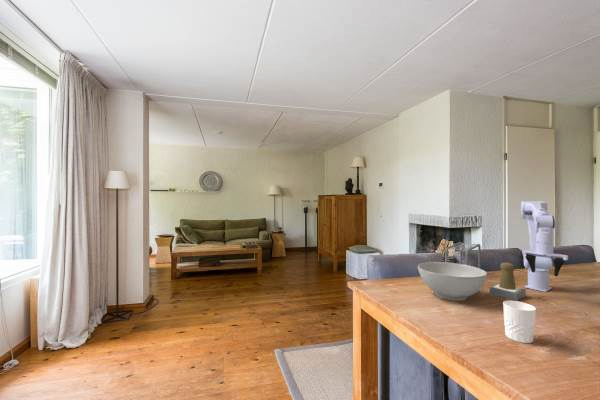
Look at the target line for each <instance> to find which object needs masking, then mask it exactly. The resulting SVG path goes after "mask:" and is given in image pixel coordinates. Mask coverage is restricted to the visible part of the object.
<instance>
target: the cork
mask: <svg viewBox="0 0 600 400" xmlns="http://www.w3.org/2000/svg"><path fill="white" fill-rule="evenodd" d="M499 267H500V268H499V269H501V271H500V272H501V273H500V278H499V282H498V284H499V287H501V288H504V289H509V290H515V289H516V287H517V286H516V282H515V276H514V275H515V274H514V271H515V265H514V264H513V263H510V262H501V263H500V266H499Z"/></svg>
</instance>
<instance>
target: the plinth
mask: <svg viewBox="0 0 600 400" xmlns="http://www.w3.org/2000/svg"><path fill="white" fill-rule="evenodd" d="M515 287H516V289H515V290H509V289H504V288H501V287H499V283H498V284H494V285H491V286H489V294H490V295H494V296H497V297H501V298H505V299H509V300H511V301H518V300H520V299H523V298H525V297H526V291H527V290H526V288H522V287H517V286H515Z"/></svg>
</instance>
